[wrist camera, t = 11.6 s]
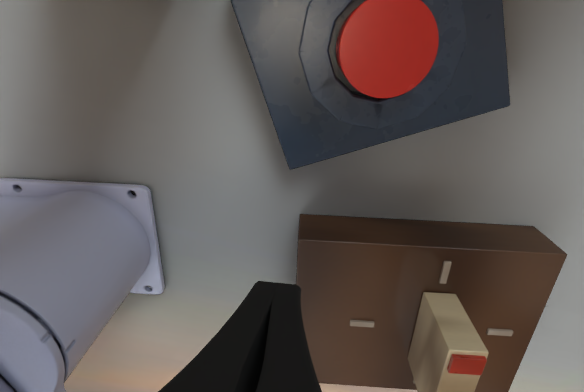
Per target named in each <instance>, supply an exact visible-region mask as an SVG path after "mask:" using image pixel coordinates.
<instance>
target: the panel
mask: <svg viewBox="0 0 584 392" xmlns="http://www.w3.org/2000/svg"><path fill="white" fill-rule="evenodd" d="M566 256H567V254H566V253H565V252H564V251H563V250H562V249H560V248H559V247H558V246H557V245H556V244H554V243H553V242H552V241H551V240H550V239H548V238H547V237H546V236H545V235H544V234H542V233H541V232H540V231H539V230H538V229H537V228H535V227H534V226H518V225H499V224H480V223H461V222H442V221H423V220H404V219H384V218H365V217H346V216H327V215H308V214H300V220H299V235H298V254H297V276H296V285H298V286H299V287H300V288H301V311H302V319H303V325H304V330H305V334H306V339H307V343H308V348H309V352H310V355H311V359H312V362H313V366H314V369H315V373H316V376H317V379H318V382H319V383H326V384H340V385H355V386H369V387H384V388H398V389H413V390H417V388H416V384H415V381H414V378H413V374H412V371H411V368H410V364H409V361H408V355H409V351H410V346H411V342H412V338H413V334H414V330H415V325H416V321H417V317H418V313H419V309H420V305H421V300H422V296H423V292H432V293H449V294H456V296H457V297H458V299H459V301H460V303H461V304H462V306H463V308H464V310H465V311H466V313H467V315H468V317H469V319H470V320H471V322H472V324H473V326H474V327H475V329H476V331H477V333H478V334H479V336H480V338H481V340H482V342H483V343H484V345H485V347H486V349H487V350H488V353H489V354H488V356H487V362H486V364H485V367H484V370H483V372H482V375H480V378H479V380H478V383H477V386H476V389H475V391H474V392H508V391H509V389H510V386H511V384H512V382H513V379H514V377H515V375H516V372H517V370H518V368H519V365H520V363H521V361H522V358H523V356H524V354H525V351H526V349H527V347H528V344H529V342H530V340H531V338H532V335H533V333H534V331H535V328H536V326H537V324H538V321H539V319H540V317H541V314H542V312H543V310H544V307H545V305H546V303H547V300H548V298H549V296H550V293H551V291H552V289H553V287H554V284H555V282H556V280H557V277H558V275H559V273H560V270H561V268H562V266H563V263H564V261H565V259H566Z"/></svg>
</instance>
